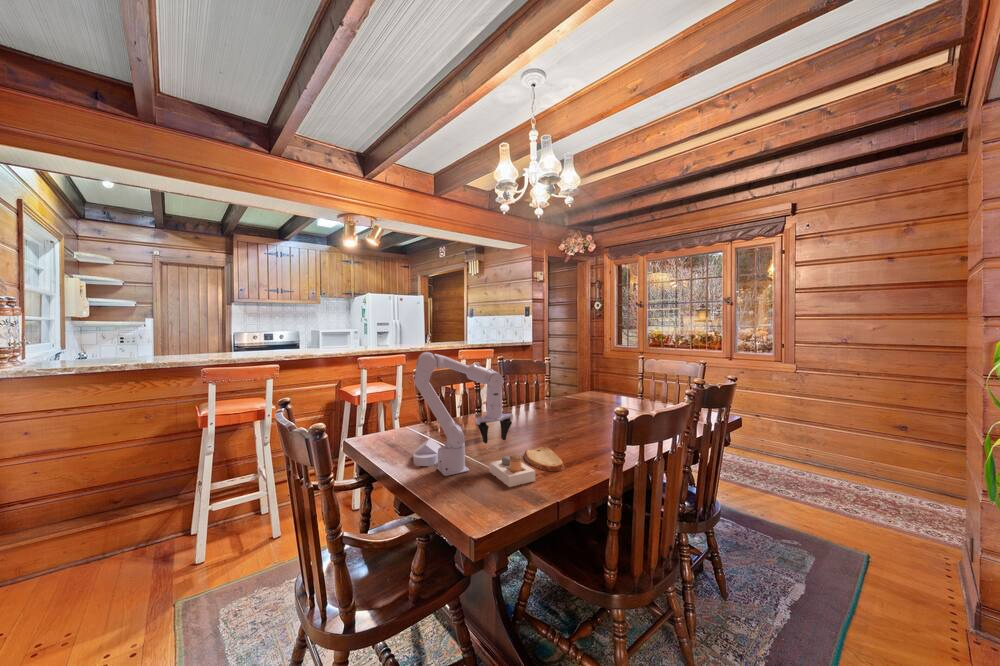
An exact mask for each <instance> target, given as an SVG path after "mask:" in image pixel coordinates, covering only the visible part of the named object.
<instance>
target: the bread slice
mask: <svg viewBox="0 0 1000 666" xmlns="http://www.w3.org/2000/svg"><path fill="white" fill-rule="evenodd" d="M523 458H524V460H525V461H526V463H528V464H529V465H532V466H533V467H535V468H537V469H541V470H544V471H547V470H548V472H562V470H563V471H565V470H564V469H565V466H564V463H563V461H562V459H561V458H560V456H558V455H557V454H556V453H555V451H553V450H552V449H550V448H549V447H547V446H539V447H536V448H533V449H525V451H524V454H523Z"/></svg>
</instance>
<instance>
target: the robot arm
mask: <svg viewBox="0 0 1000 666" xmlns="http://www.w3.org/2000/svg"><path fill="white" fill-rule="evenodd" d="M436 368H437V369H438V370H439V369H443V368H445V369H446V368H447V369H450V370H453V371H456V372H459V373H462V374H464V375H465V374H466V378H467V379H468V380H471V381H474V382H476V383H479V384H482V385H486V415H484V416H480V417H475V422H474V423H475V424H476V425H477V427H478V429H479V432H480V436H481V438H482V442H483V443H484V444H488V440H489V439H488V432H489V425H488V423H495V422H500V437H501V440H503V441H506V439H507V435H508V433H509V429H511V425H512V423H513V417H514V416H513V414H512V413H503V391H502V390H503V388H502V387H503V385H504V383H505V380H504V377H503V376H502V374H501V373H500V372H498V371H496V370H494V369H493V368H486V367H483V366H481V364H480V363H478V362H476V364H475V363H472V364H470V365H468V364H465V363H462V362H461V361H457V360H456V359H453V358H451V357H448V356H445V355H442V354H438V353H434V354H433V353H432V352H429V351H424V352H422V353H420V354H419V356H418V358H417V360H416V362H415V374H414V385H415V387H416V388H417V390H418V391H419V393H420V394H421V396H422V398H423V399H424V401H425V402H426V404H427V406H428V407H429V409H430V411H431V412H432V414H433V415H434V417H435V419H436V420H437V422H438V424H439V425H440V426H441V428H442V430H443V432H444V434H445V437H446V440H445V443H444V445H443V446H441V448H439V449H438V462H437V467H436V468H437V471H439V472H440V473H441V474H442V475H443V476H444V477H447V476H452V475H456V474H457V475H458V474H461V473H466V472H469V471H470V469H469V467H467V466H466V443H465V441H466V436H465V433H464V432H463V429H462V428H463V427H461V426H460V425H459V423H456V422H455V420H454V418H453V417H452V416H451V414H450V413H449V412H448V410H447V408H446V406H445V405H444V403H443V402H442V400H441V399H440V397H439V395H438V394H437V392H436V390H435V389H434V387H433V386H432V384H431V383H430V379H431V375H432V374H433V372H434V370H435V369H436Z"/></svg>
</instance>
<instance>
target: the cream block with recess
mask: <svg viewBox="0 0 1000 666" xmlns="http://www.w3.org/2000/svg"><path fill="white" fill-rule="evenodd" d="M510 456H511V455H504V456H502V457H501V459H500V460H495V461H489V473H490V474H492V475H493V476H494V477H495V476H496V479H498V480H499V481H501V482H502V483H503V484H504V485H506V486H507V487H508V488H512V487H516V486H521V485H525V484H528V483H533V482H536V469H533V468H531V467H530V466H529V465H527V464H526V463H524V462H522V471H521V472H516V473H512V472H510ZM520 484H521V485H520Z"/></svg>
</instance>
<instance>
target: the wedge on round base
mask: <svg viewBox="0 0 1000 666" xmlns="http://www.w3.org/2000/svg"><path fill="white" fill-rule="evenodd" d="M441 447H442V445H440V444H439V443H438V442H436V441H435V440H434V439H432V438H428V439H427V440H425V441H424V442H423V443H422V444H420V445H419V446H418V447H417V449H415V451H414V453H413V455H412V456H413V465H414V464H415V467H419V466H428V467H432V466H435V465H437V464H438V449H439V448H441ZM436 463H437V464H436ZM434 464H435V465H434ZM431 465H432V466H431Z"/></svg>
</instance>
